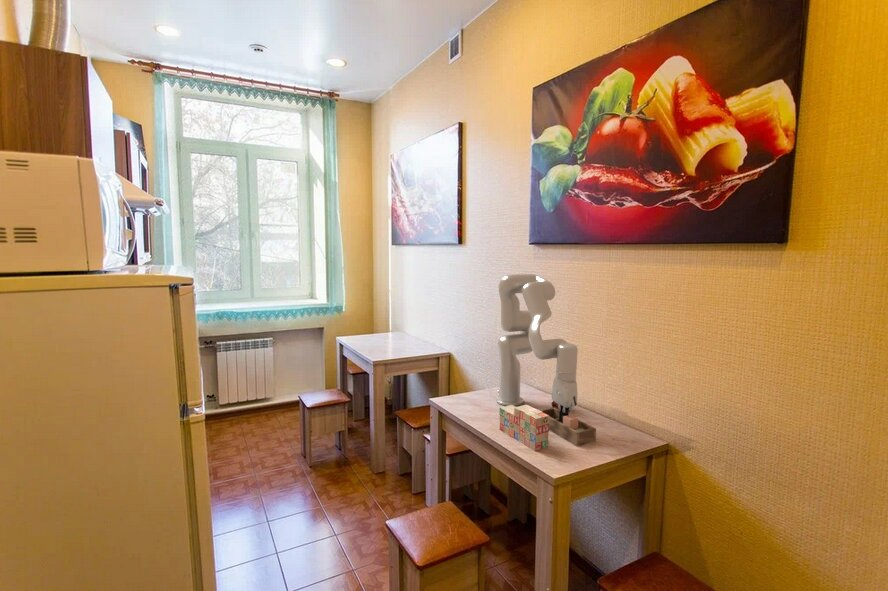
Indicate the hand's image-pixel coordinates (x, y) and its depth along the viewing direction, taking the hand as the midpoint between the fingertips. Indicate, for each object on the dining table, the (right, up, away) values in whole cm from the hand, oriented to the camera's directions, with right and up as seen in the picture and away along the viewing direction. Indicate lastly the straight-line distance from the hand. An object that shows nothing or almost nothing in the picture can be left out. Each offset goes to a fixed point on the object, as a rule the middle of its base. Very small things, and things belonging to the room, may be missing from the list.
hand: (563, 420), depth 170 cm
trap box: (0, -4, 0) cm, 4 cm away
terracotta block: (+2, -2, -3) cm, 4 cm away
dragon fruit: (+5, -2, +21) cm, 22 cm away
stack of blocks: (-17, -5, -6) cm, 19 cm away
